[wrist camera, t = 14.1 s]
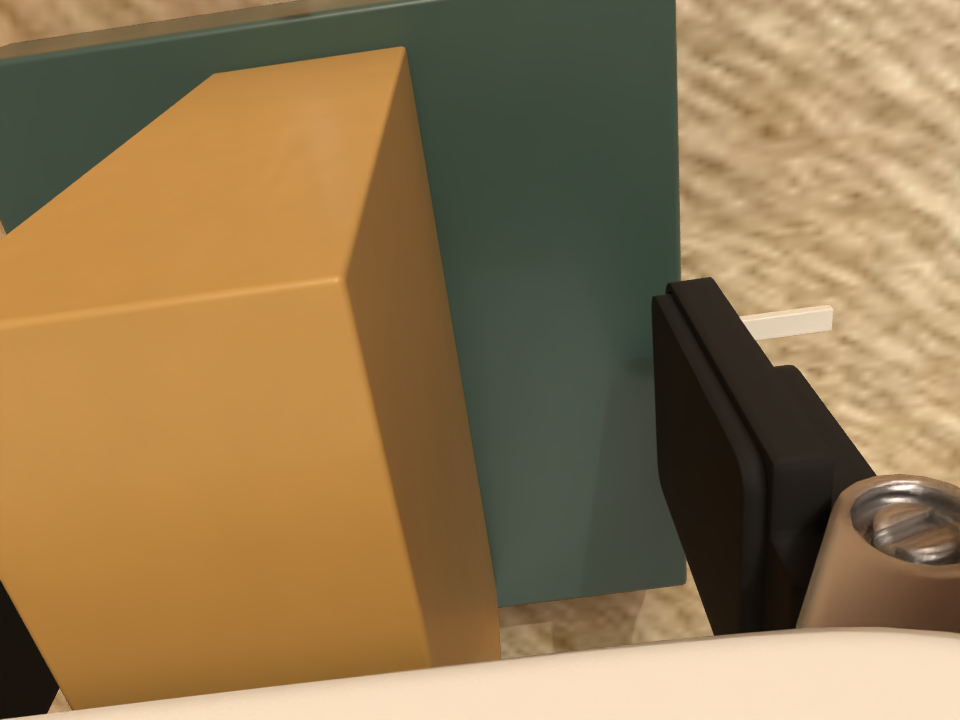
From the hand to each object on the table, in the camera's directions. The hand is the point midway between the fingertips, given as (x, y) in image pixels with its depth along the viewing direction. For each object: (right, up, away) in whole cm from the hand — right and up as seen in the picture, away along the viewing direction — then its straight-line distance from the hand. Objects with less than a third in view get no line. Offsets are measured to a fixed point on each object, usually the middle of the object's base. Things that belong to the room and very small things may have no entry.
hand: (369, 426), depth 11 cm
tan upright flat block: (0, +1, +1) cm, 1 cm away
